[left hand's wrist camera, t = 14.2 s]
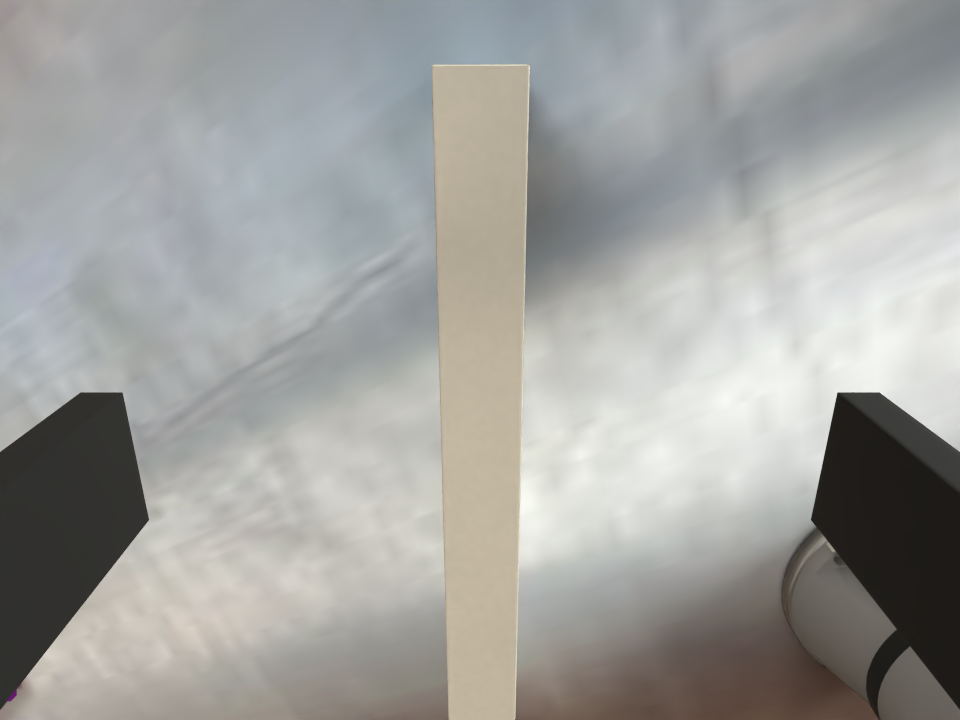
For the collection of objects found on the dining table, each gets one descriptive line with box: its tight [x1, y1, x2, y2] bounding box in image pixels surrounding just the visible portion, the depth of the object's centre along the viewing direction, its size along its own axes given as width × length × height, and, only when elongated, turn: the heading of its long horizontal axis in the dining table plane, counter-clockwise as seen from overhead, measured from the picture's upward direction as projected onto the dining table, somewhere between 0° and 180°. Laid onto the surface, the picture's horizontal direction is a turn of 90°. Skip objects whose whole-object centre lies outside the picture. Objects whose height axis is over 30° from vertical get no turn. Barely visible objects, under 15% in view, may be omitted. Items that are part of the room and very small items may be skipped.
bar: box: [432, 64, 530, 720], centre depth 44 cm, size 54×4×8 cm, turn 0°
